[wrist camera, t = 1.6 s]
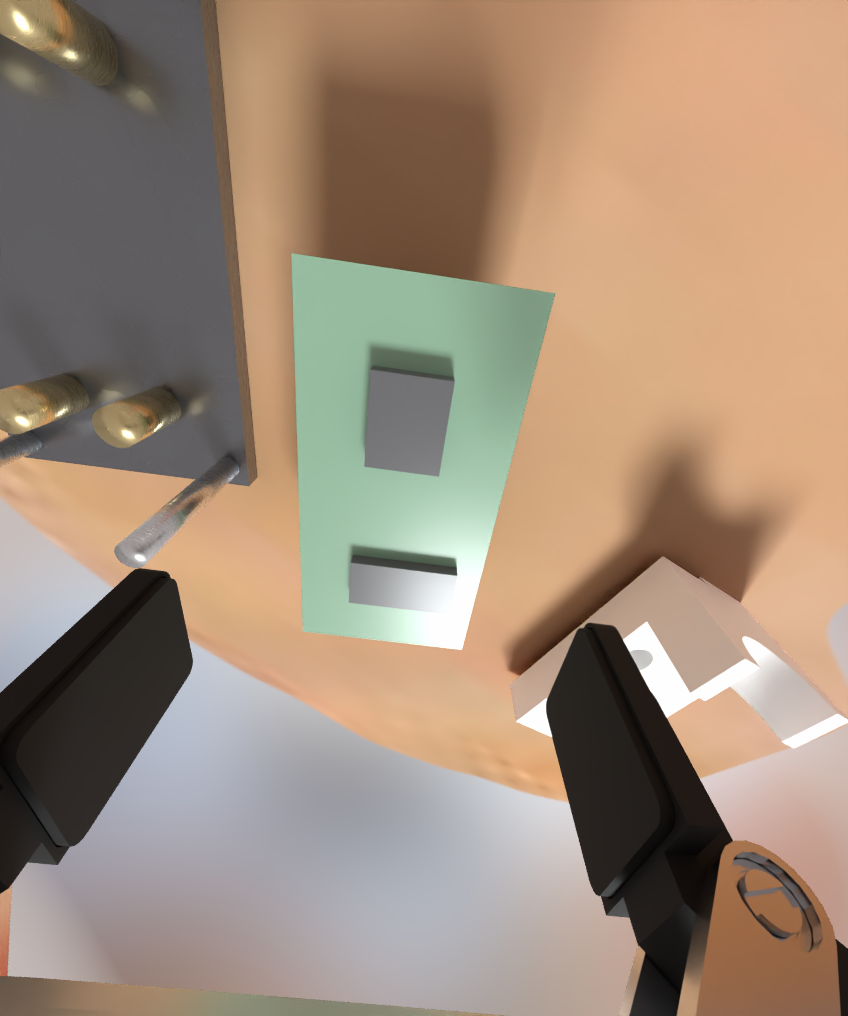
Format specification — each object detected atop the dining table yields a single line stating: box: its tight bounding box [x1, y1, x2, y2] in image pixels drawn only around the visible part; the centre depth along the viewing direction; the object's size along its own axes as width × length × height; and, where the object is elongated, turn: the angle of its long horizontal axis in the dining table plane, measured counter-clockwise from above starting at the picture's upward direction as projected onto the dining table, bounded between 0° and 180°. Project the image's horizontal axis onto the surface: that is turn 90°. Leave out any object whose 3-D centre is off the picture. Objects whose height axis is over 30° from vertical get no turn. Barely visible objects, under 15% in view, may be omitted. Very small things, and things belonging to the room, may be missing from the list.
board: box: [291, 253, 555, 650], centre depth 15 cm, size 14×7×3 cm, turn 172°
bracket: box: [510, 556, 848, 748], centre depth 23 cm, size 13×7×8 cm, turn 148°
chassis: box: [0, 0, 257, 568], centre depth 12 cm, size 18×11×8 cm, turn 172°
